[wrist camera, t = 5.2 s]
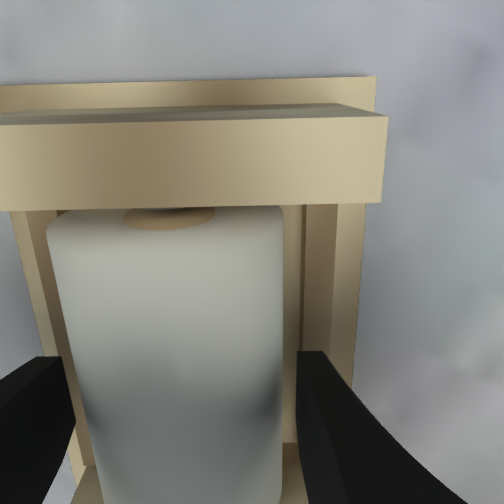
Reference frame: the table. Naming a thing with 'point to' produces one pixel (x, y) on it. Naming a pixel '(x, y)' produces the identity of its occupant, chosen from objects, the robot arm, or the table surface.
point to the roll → (177, 348)
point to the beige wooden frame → (203, 198)
